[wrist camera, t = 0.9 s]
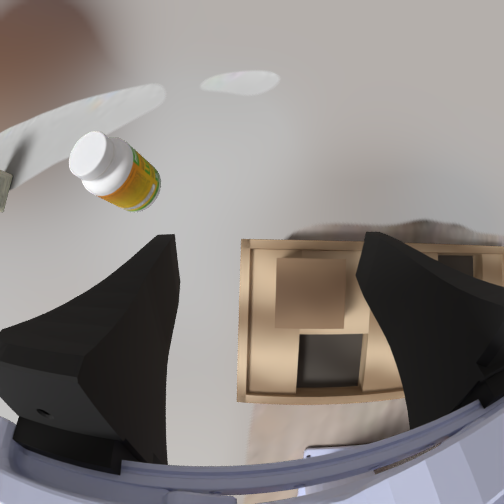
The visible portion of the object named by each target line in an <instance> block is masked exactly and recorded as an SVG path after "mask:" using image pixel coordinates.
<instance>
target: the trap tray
mask: <svg viewBox="0 0 504 504" xmlns="http://www.w3.org/2000/svg"><path fill="white" fill-rule="evenodd" d="M363 244H364V242H363V241H321V240H267V239H266V240H264V239H241V264H240V296H239V329H238V330H239V331H238V370H237V371H238V372H237V373H238V374H237V402H245V403H260V404H285V405H322V404H347V403H362V402H373V401H383V400H392V399H400V398H405V395H404V391H403V386H402V382H401V379H400V375H399V372H398V369H397V365H396V363H395V360H394V357H393V354H392V351H391V349H390V346H389V344H388V342H387V339H386V337H385V335H384V333H383V332H382V330H381V328H380V326H379V324H378V322H377V320H376V319H375V317H374V315H373V313H372V311H371V310H370V308H369V306H368V304H367V302H366V300H365V298H364V296H363V294H362V292H361V289H360V287H359V284H358V281H357V278H356V276H355V275H356V271H357V267H358V264H359V260H360V256H361V252H362V248H363ZM405 244H407V245H409V246H411V247H412V248H414V249H416V250H418V251H420V252H422V253H423V254H425V255H427V256H429V257H431V258H433V259H435V260H437V261H439V262H441V263H443V264H445V265H447V266H449V267H451V268H453V269H455V270H458V271H460V272H462V273H465V274H467V275H469V276H472V277H475V278H477V279H480V280H483V281H486V282H489V283H492V284H495V285H499V286H502V287H504V247H501V246H479V245H454V244H427V243H405ZM277 258H307V259H346V291H345V318H344V329H282V328H275V300H276V264H277Z"/></svg>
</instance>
